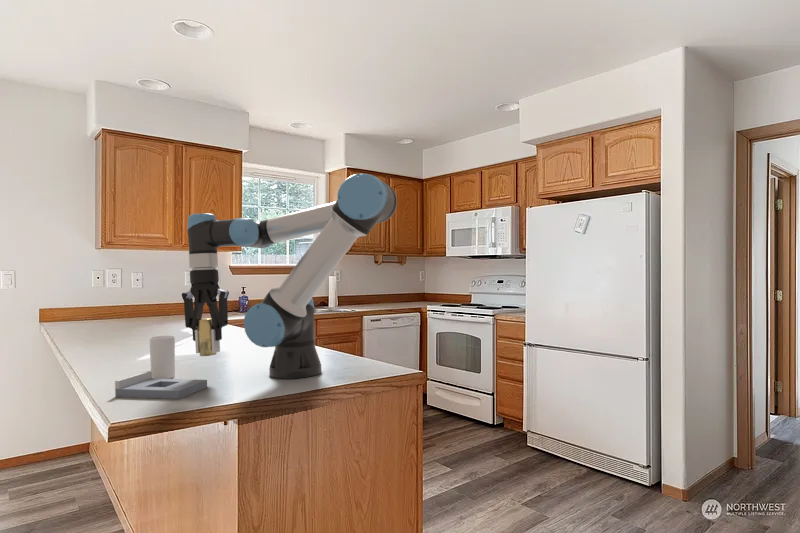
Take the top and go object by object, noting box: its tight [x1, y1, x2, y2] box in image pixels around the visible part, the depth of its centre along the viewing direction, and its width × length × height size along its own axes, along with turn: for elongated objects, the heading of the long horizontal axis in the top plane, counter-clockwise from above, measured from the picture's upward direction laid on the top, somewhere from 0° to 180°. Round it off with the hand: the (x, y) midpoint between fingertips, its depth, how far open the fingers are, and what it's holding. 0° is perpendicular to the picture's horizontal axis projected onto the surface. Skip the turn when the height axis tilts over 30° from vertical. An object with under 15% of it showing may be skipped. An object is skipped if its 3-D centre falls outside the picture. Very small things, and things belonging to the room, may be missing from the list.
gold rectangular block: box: [198, 317, 217, 357], centre depth 143 cm, size 4×4×10 cm
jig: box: [114, 370, 208, 400], centre depth 132 cm, size 18×12×4 cm, turn 78°
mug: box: [149, 335, 176, 379], centre depth 152 cm, size 10×7×12 cm, turn 5°
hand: (208, 352), depth 143 cm, fingers closed on gold rectangular block, 4 cm apart
